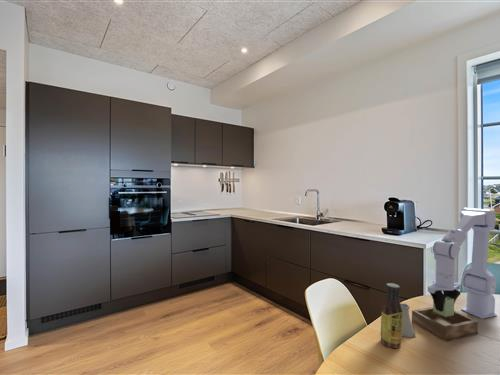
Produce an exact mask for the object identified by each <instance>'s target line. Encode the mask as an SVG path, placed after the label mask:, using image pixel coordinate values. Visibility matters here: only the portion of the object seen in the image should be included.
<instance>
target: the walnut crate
mask: <svg viewBox="0 0 500 375" xmlns="http://www.w3.org/2000/svg"><path fill="white" fill-rule="evenodd" d="M411 323H413V324H415V325H417V326H418V327H420V328H421V329H423V330H425V331H427V332H429V333H430V334H432V335H434V336H435V337H437V338H439V339H440V340H442V341H444V342H449V341H453V340H458V339H463V338H465V337H471V336H474V335H477V334H479V333H478V332H479V330H478V329H479V321H478V320H476V319H474V318H472V317H470V316H467V315H466V314H463V313H460V312H459V311H456V310H454V315H452V316H447V317H444V316H442V315H440V314H438V313H436V312H434V311H433V306H430V307H429V306H428V307H425V308H418V309H414V310H413V309H412V310H411Z"/></svg>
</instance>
